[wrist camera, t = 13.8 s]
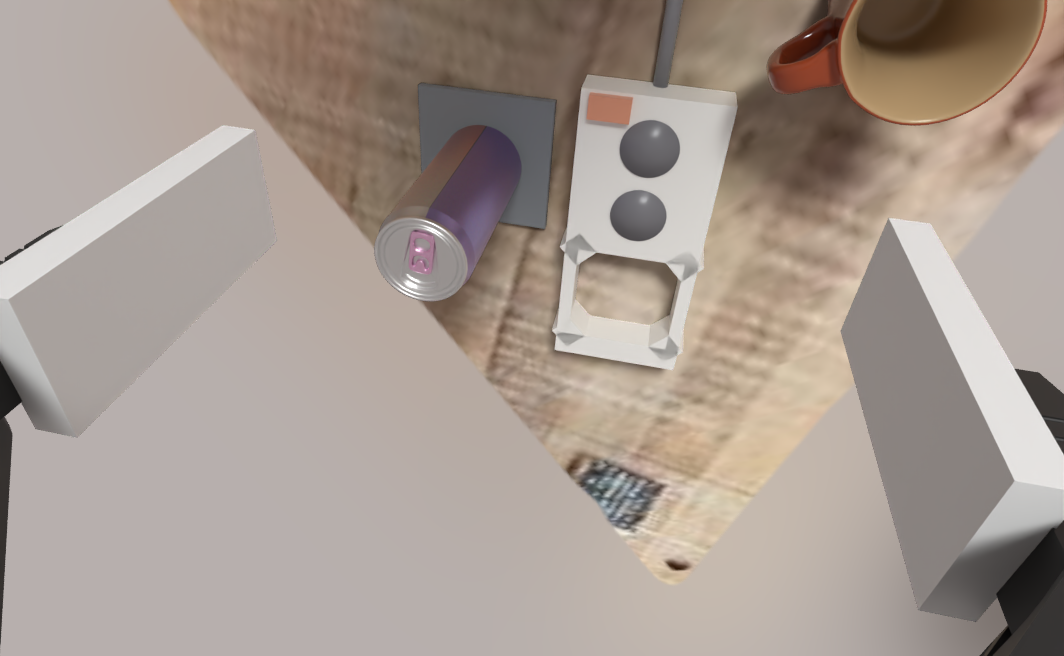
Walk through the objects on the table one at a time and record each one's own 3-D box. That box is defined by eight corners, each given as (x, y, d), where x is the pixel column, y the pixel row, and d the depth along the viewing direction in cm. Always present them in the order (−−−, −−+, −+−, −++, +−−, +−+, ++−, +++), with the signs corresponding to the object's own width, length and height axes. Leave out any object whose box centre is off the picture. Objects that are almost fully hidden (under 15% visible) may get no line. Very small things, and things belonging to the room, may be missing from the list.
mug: (968, -124, 36) (1044, -109, 28) (981, 37, 41) (1051, 90, 32) (741, -29, 41) (751, 7, 33) (774, 106, 45) (790, 168, 37)
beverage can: (529, 132, 49) (475, 230, 37) (516, 205, 53) (463, 315, 41) (450, 112, 49) (371, 203, 37) (443, 186, 53) (369, 290, 41)
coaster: (420, 82, 49) (417, 85, 48) (556, 99, 48) (555, 102, 47) (425, 207, 55) (423, 210, 55) (546, 225, 54) (544, 228, 53)
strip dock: (595, -60, 41) (587, -51, 39) (775, -43, 40) (781, -32, 37) (555, 328, 60) (548, 353, 57) (679, 348, 58) (677, 375, 56)
